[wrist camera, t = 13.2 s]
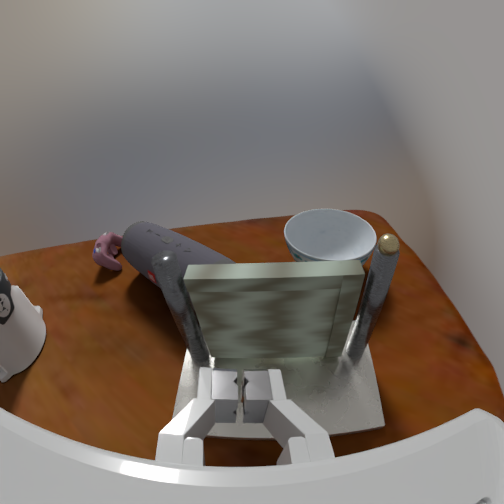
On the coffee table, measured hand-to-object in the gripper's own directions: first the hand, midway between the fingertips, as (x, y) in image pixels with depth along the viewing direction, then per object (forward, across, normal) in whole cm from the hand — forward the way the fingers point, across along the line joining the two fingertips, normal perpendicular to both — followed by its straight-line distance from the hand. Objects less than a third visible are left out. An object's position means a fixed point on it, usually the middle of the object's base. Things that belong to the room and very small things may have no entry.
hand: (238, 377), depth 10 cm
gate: (+16, +6, -15) cm, 23 cm away
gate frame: (+14, +7, -18) cm, 23 cm away
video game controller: (+44, -24, -18) cm, 53 cm away
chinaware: (+33, +17, -11) cm, 39 cm away
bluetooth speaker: (+33, -7, -16) cm, 37 cm away
